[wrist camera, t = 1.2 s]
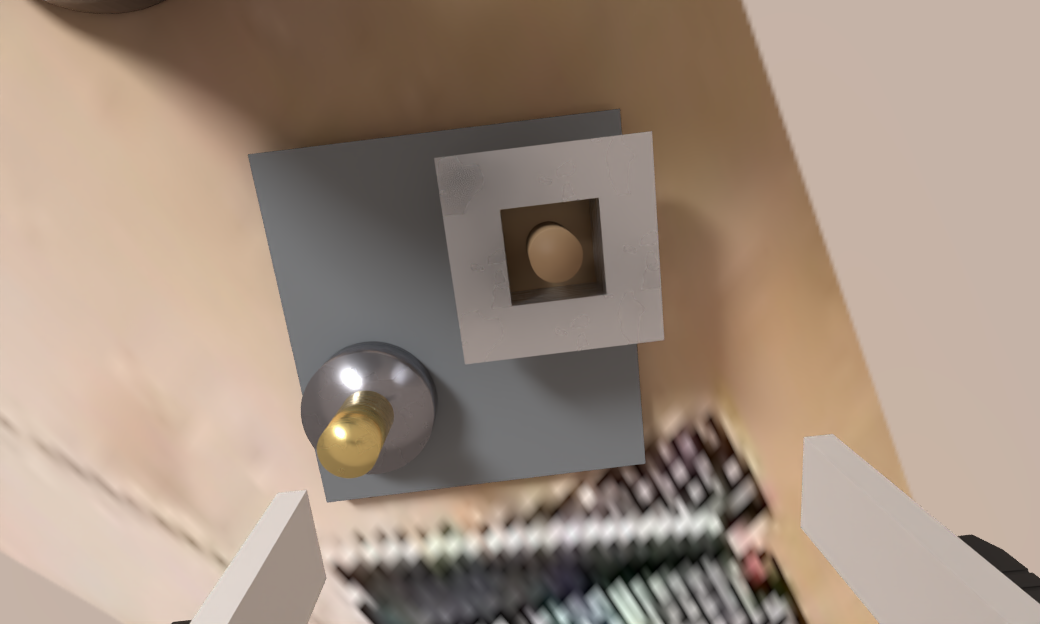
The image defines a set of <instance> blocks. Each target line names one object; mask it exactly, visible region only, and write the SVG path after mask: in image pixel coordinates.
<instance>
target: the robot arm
mask: <svg viewBox="0 0 1040 624" xmlns="http://www.w3.org/2000/svg"><path fill="white" fill-rule="evenodd" d="M43 1H46V2H48V3H51V4H54V5H57V6H60V7H63V8H67V9H71V10H76V11H81V12H88V13H100V14H112V13H124V12H130V11H135V10H139V9H143V8H147V7H149V6H152V5H155V4H158V3H160V2H162V1H164V0H43ZM801 528H802V530H803V531H804V532H805V533H806V535H807V536H808V537H809V538H810V539H811V541H812V542H813V543H814V544H815V546H816V547H817V548H818V549H819V550H820V552H821V553H822V554H823V555H824V556H825V558H826V559H827V560H828V561H829V563H830V564H831V565H832V566H833V567H834V569H835V570H836V571H837V572H838V574H839V575H840V576H841V577H842V578H843V580H844V581H845V582H846V583H847V585H848V586H849V587H850V588H851V589H852V591H853V592H854V593H855V594H856V596H857V597H858V598H859V599H860V600H861V602H862V603H863V604H864V605H865V606H866V608H867V609H868V610H869V611H870V613H871V614H872V615H873V616H874V617H875V619H876V620H877V621H878V622H879V624H1040V578H1039V577H1038V576H1036V575H1035V574H1034V573H1029V572H1028V569H1027V568H1026V567H1025V566H1023V565H1022V564H1021V563H1019V562H1018V561H1017V560H1016V559H1014V558H1013V557H1011V556H1010V555H1009V554H1008V553H1006V552H1005V551H1004V550H1002V549H1000V548H998V547H996V546H994V545H992V544H990V543H988V542H986V541H984V540H982V539H980V538H978V537H976V536H974V535H964V536H956V535H955V534H954V533H953V532H951V531H950V530H949V529H948V528H946V527H945V526H944V525H943V524H941V523H940V522H939V521H938V520H937V519H936V518H934V517H933V516H932V515H931V514H929V513H928V512H927V511H926V510H924V509H923V508H922V507H921V506H920V505H918V504H917V503H916V502H915V501H914V500H912V499H911V498H910V497H909V496H907V495H906V494H905V493H904V492H903V491H901V490H900V489H899V488H898V487H897V486H895V485H894V484H893V483H892V482H890V481H889V480H888V479H887V478H886V477H884V476H883V475H882V474H881V473H879V472H878V471H877V470H876V469H875V468H873V467H872V466H871V465H870V464H869V463H867V462H866V461H865V460H864V459H862V458H861V457H860V456H859V455H858V454H856V453H855V452H854V451H853V450H851V449H850V448H849V447H848V446H847V445H845V444H844V443H843V442H842V441H841V440H839V439H838V438H837V437H836V436H834V435H833V434H829V435H820V436H810V437H804V448H803V476H802V504H801ZM325 580H326V574H325V570H324V565H323V561H322V556H321V552H320V547H319V543H318V538H317V534H316V529H315V525H314V520H313V516H312V511H311V507H310V503H309V498H308V494H307V490H300V491H291V492H281V493H277V494H276V496H275V497H274V499H273V500H272V502H271V503H270V505H269V506H268V508H267V509H266V511H265V512H264V514H263V515H262V517H261V518H260V520H259V521H258V523H257V524H256V526H255V527H254V529H253V530H252V532H251V533H250V535H249V536H248V538H247V539H246V540H245V542H244V543H243V545H242V546H241V548H240V549H239V551H238V552H237V554H236V555H235V557H234V558H233V560H232V561H231V563H230V564H229V566H228V567H227V569H226V570H225V572H224V573H223V575H222V576H221V578H220V579H219V581H218V582H217V584H216V585H215V587H214V588H213V590H212V591H211V593H210V594H209V596H208V597H207V599H206V600H205V601H204V603H203V604H202V606H201V607H200V609H199V610H198V612H197V613H196V615H195V616H194V618H193V619H192V620H188V621H178V622H173V623H172V624H307V623H308V621H309V619H310V616H311V614H312V611H313V609H314V607H315V604H316V602H317V599H318V597H319V595H320V592H321V590H322V587H323V585H324V583H325Z"/></svg>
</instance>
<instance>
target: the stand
mask: <svg viewBox="0 0 1040 624" xmlns="http://www.w3.org/2000/svg"><path fill="white" fill-rule="evenodd" d="M501 218H502V226H503V234H504V242H505V250H506V257H507V265H508V273H509V281H510V289H511V292H517V291H525V290H533V289H541V288H549V287H557V286H566V285H574V284H582V283H590V282H596V276H595V265H594V253H593V242H592V230H591V219H590V208H589V199H583V200H575V201H567V202H559V203H551V204H543V205H534V206H526V207H518V208H510V209H502V210H501Z"/></svg>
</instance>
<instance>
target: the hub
mask: <svg viewBox="0 0 1040 624" xmlns="http://www.w3.org/2000/svg"><path fill="white" fill-rule="evenodd" d="M437 406H438V398H437V391H436V386H435V384H434V381H433V378H432V377H431V375H430V373H429V371H428V370H427V368H426V367H425V366H424V365H423V363H422V362H421V361H420V360H419V359H418V358H416V357H415V356H414V355H413V354H411V353H410V352H408V351H406V350H405V349H403V348H401V347H398V346H396V345H393V344H390V343H384V342H376V341H369V342H360V343H356V344H353V345H349V346H347V347H345V348H343V349H341V350H339V351H338V352H336V353H335V354H334V355H332V356H331V357H330V358H329V359H328V360H327V361H326V362H325V363H324V364H323V365H322V366H321V368H320V369H319V370H318V371H317V372H316V373H315V374H314V375H313V376H312V378H311V379H310V381H309V382H308V384H307V386H306V388H305V391H304V394H303V397H302V402H301V418H302V424H303V427H304V431H305V433H306V435H307V437H308V439H309V441H310V442H311V444H312V445H313V447H314V448H315V449H316V450H317V455H318V459H319V461H320V463H321V464H322V466H323V467H324V468H325V469H326V470H327V471H329V472H330V473H331V474H333V475H335V476H338V477H341V478H357V477H360V476H362V475H364V474H370V475H371V474H382V473H387V472H391V471H394V470H396V469H399V468H401V467H403V466H405V465H406V464H408V463H409V462H411V461H412V460H413V459H414V458H416V457H417V455H418V454H419V453H420V452H421V451H422V450H423V448H424V447H425V445H426V443H427V442H428V440H429V437H430V434H431V431H432V428H433V424H434V421H435V417H436V413H437Z"/></svg>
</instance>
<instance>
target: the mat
mask: <svg viewBox="0 0 1040 624" xmlns="http://www.w3.org/2000/svg"><path fill="white" fill-rule="evenodd" d="M617 135H622V130H621V116H620V109H614V110H606V111H598V112H590V113H581V114H573V115H565V116H557V117H549V118H541V119H533V120H524V121H516V122H508V123H500V124H492V125H484V126H476V127H467V128H459V129H451V130H443V131H435V132H427V133H418V134H410V135H402V136H394V137H386V138H378V139H370V140H361V141H353V142H345V143H337V144H329V145H321V146H313V147H304V148H296V149H288V150H280V151H272V152H264V153H256V154H248V158H249V162H250V166H251V171H252V175H253V180H254V184H255V188H256V193H257V197H258V202H259V206H260V210H261V215H262V219H263V223H264V228H265V232H266V237H267V241H268V245H269V250H270V254H271V259H272V263H273V267H274V272H275V276H276V281H277V285H278V289H279V294H280V298H281V303H282V307H283V311H284V316H285V320H286V325H287V329H288V333H289V338H290V342H291V347H292V351H293V355H294V360H295V364H296V369H297V373H298V377H299V382H300V386H301V391H302V395H303V394H304V391H305V388H306V386H307V384H308V382H309V381H310V379H311V378H312V376H313V375H314V374H315V373H316V372H317V371H318V370H319V369H320V368H321V366H322V365H323V364H324V363H325V362H326V361H327V360H328V359H329V358H330V357H331V356H332V355H334V354H335V353H336V352H338V351H339V350H341V349H343V348H345V347H347V346H349V345H353V344H356V343H360V342H369V341H376V342H384V343H390V344H393V345H396V346H398V347H401V348H403V349H405V350H406V351H408V352H410V353H411V354H413V355H414V356H415V357H416V358H418V359H419V360H420V361H421V362H422V363H423V365H424V366H425V367H426V368H427V370H428V371H429V373H430V375H431V377H432V378H433V381H434V384H435V386H436V391H437V398H438V406H437V413H436V417H435V421H434V424H433V428H432V431H431V434H430V437H429V440H428V442H427V443H426V445H425V447H424V448H423V450H422V451H421V452H420V453H419V454H418V455H417V457H416V458H414V459H413V460H412V461H411V462H409V463H408V464H406V465H405V466H403V467H401V468H399V469H396V470H394V471H391V472H387V473H382V474H371V475H370V474H364V475H362V476H360V477H357V478H341V477H338V476H335V475H333V474H331V473H330V472H329V471H327V470H326V469H325V468H324V467H323V466H322V464H321V463H320V461H319V459H318V455H317V450H316V449H315V452H316V456H317V461H318V465H319V470H320V474H321V478H322V483H323V487H324V492H325V496H326V500H327V502H335V501H343V500H351V499H359V498H367V497H376V496H384V495H392V494H400V493H408V492H417V491H425V490H433V489H441V488H449V487H458V486H466V485H474V484H482V483H490V482H499V481H507V480H515V479H523V478H531V477H540V476H548V475H556V474H564V473H572V472H581V471H589V470H597V469H605V468H613V467H622V466H630V465H638V464H645V450H644V436H643V422H642V408H641V395H640V381H639V367H638V353H637V344H628V345H620V346H612V347H604V348H596V349H588V350H579V351H571V352H563V353H555V354H547V355H538V356H530V357H522V358H514V359H506V360H498V361H489V362H481V363H473V364H465V360H464V354H463V347H462V341H461V334H460V327H459V321H458V314H457V307H456V301H455V294H454V287H453V281H452V274H451V267H450V261H449V254H448V248H447V241H446V234H445V228H444V221H443V214H442V208H441V201H440V194H439V188H438V181H437V174H436V168H435V161H434V158H438V157H446V156H454V155H462V154H470V153H479V152H487V151H495V150H503V149H511V148H519V147H527V146H536V145H544V144H552V143H560V142H568V141H576V140H585V139H593V138H601V137H609V136H617Z"/></svg>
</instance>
